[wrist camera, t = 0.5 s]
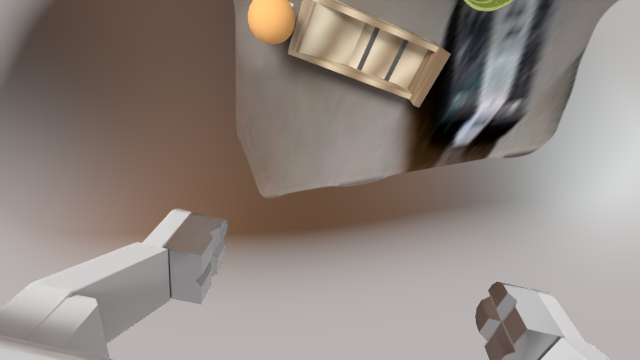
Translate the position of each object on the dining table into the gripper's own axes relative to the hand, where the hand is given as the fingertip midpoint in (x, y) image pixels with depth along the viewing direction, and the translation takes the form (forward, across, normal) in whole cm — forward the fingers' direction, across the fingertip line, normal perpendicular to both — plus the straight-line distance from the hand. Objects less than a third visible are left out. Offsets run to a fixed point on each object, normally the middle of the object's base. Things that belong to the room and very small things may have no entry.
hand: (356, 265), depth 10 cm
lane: (+47, -1, -2) cm, 47 cm away
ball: (+40, +12, -3) cm, 42 cm away
